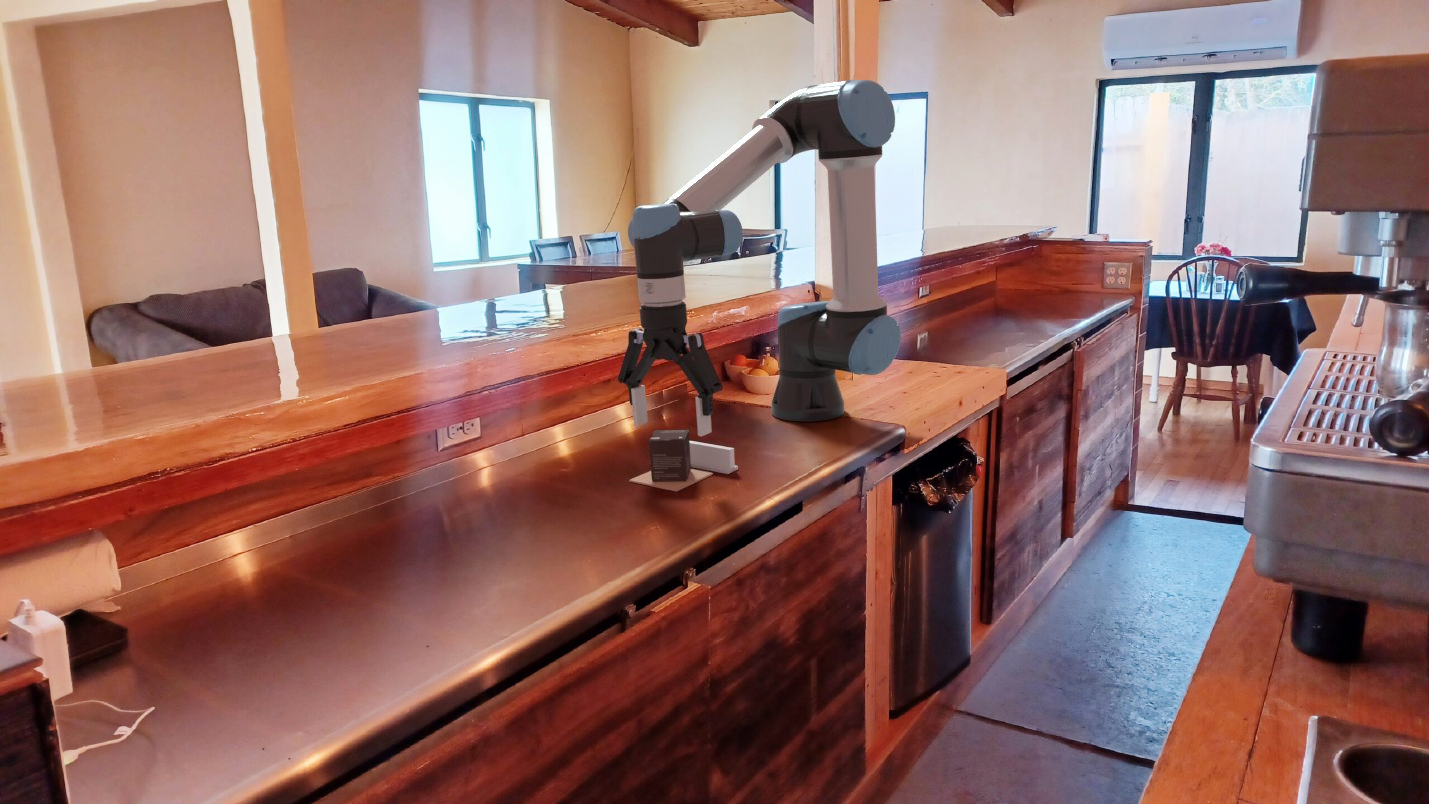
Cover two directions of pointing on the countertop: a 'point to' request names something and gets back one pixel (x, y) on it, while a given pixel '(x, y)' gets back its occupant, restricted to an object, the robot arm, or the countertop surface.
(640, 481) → the pad
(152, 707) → the countertop surface
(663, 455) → the box
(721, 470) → the divider wall
